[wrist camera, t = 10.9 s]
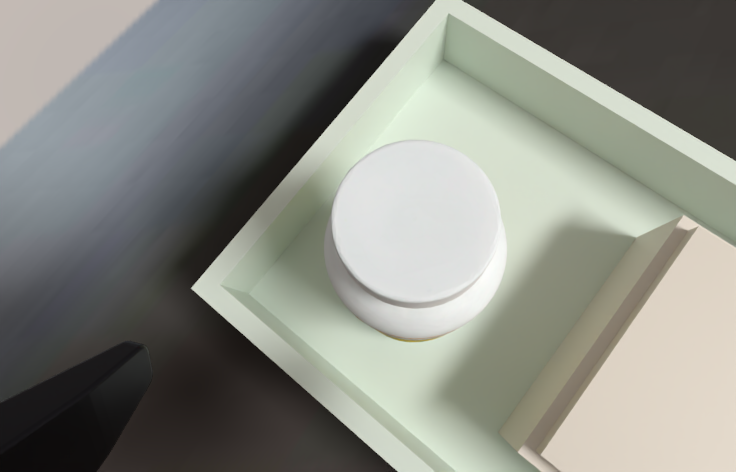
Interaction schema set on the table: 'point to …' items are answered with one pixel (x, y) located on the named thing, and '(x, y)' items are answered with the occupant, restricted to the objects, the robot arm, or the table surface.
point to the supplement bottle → (415, 240)
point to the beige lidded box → (643, 366)
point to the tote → (521, 222)
